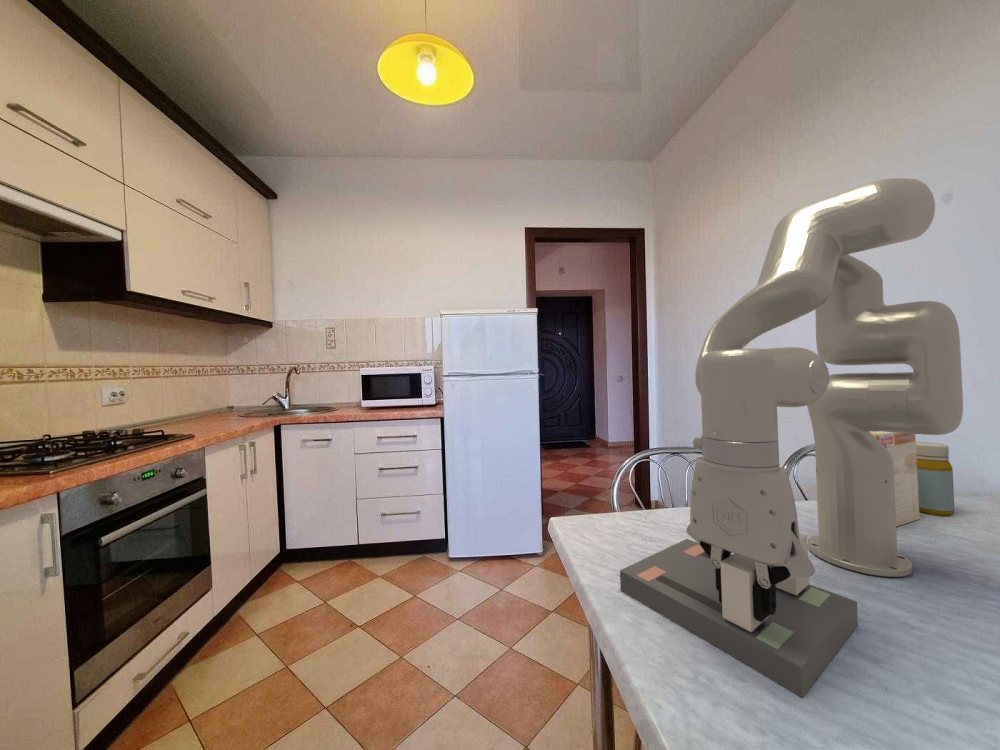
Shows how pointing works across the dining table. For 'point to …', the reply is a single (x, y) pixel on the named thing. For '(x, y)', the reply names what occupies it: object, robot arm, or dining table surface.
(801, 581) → the block
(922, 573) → the dining table surface
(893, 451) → the coffeecake box
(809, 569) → the robot arm
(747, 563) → the block
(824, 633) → the breaker panel
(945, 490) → the bottle
